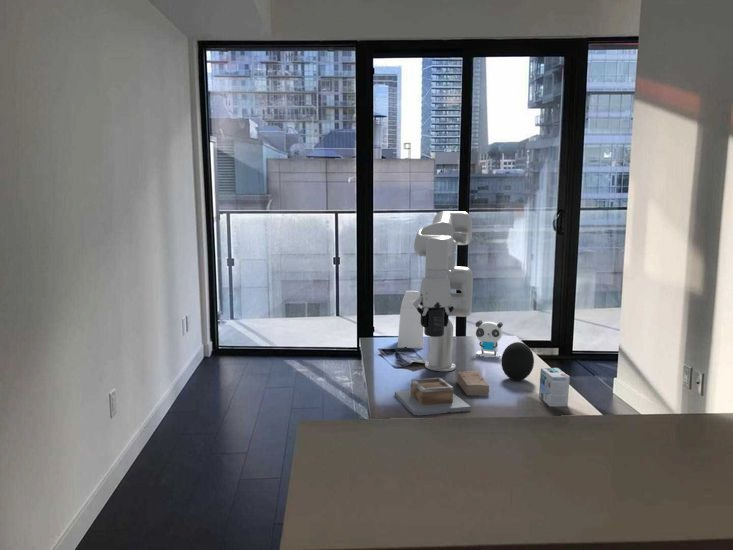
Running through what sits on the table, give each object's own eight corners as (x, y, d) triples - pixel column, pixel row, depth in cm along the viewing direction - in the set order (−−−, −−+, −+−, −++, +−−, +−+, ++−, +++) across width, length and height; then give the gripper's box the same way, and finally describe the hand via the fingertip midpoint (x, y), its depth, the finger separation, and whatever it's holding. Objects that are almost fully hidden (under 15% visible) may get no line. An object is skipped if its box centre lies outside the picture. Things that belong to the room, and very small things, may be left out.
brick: (489, 396, 216) (490, 384, 216) (467, 396, 216) (467, 384, 215) (477, 382, 233) (478, 370, 232) (456, 382, 232) (456, 370, 231)
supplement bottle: (446, 333, 206) (447, 299, 205) (441, 338, 200) (443, 302, 198) (426, 331, 208) (427, 297, 207) (421, 336, 202) (423, 300, 200)
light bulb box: (538, 396, 217) (540, 367, 215) (556, 396, 217) (558, 367, 216) (549, 406, 206) (551, 376, 205) (568, 406, 207) (570, 376, 205)
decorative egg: (496, 375, 241) (498, 338, 239) (526, 374, 242) (528, 338, 240) (506, 384, 229) (508, 346, 227) (537, 384, 230) (539, 346, 228)
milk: (423, 342, 292) (425, 289, 288) (423, 348, 280) (425, 293, 277) (398, 341, 293) (400, 288, 289) (397, 347, 281) (399, 292, 278)
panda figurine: (472, 355, 270) (473, 322, 268) (478, 349, 280) (479, 318, 278) (498, 358, 265) (500, 325, 263) (503, 352, 275) (505, 320, 273)
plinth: (410, 394, 211) (411, 379, 210) (439, 392, 214) (440, 377, 213) (422, 405, 200) (422, 389, 200) (452, 402, 204) (453, 387, 203)
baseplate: (394, 395, 214) (394, 391, 214) (446, 391, 220) (446, 387, 220) (414, 415, 195) (414, 411, 195) (470, 410, 201) (470, 406, 201)
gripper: (455, 272, 207) (453, 322, 210) (408, 273, 202) (406, 324, 205) (464, 275, 200) (462, 327, 203) (416, 276, 195) (414, 329, 198)
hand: (434, 325), depth 204 cm, fingers closed on supplement bottle, 6 cm apart
